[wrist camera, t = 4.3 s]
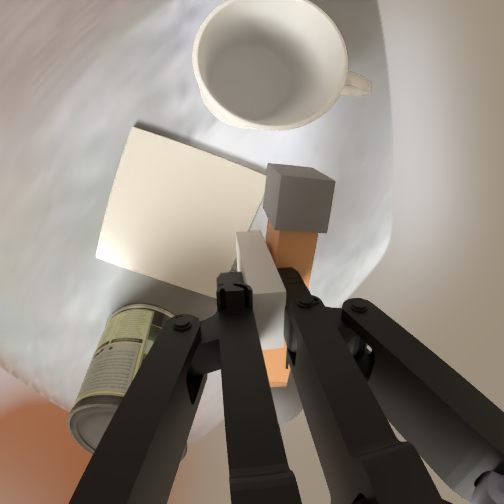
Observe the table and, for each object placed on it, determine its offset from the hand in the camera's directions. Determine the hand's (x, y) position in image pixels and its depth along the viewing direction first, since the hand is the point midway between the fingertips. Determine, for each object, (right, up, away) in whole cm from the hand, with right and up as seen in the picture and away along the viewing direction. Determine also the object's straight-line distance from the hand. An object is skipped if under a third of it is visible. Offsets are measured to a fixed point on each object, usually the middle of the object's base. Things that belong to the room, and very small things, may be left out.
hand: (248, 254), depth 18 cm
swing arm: (+1, -3, +2) cm, 4 cm away
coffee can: (-12, -10, +16) cm, 22 cm away
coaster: (-7, +3, +11) cm, 13 cm away
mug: (+2, +14, +7) cm, 16 cm away
